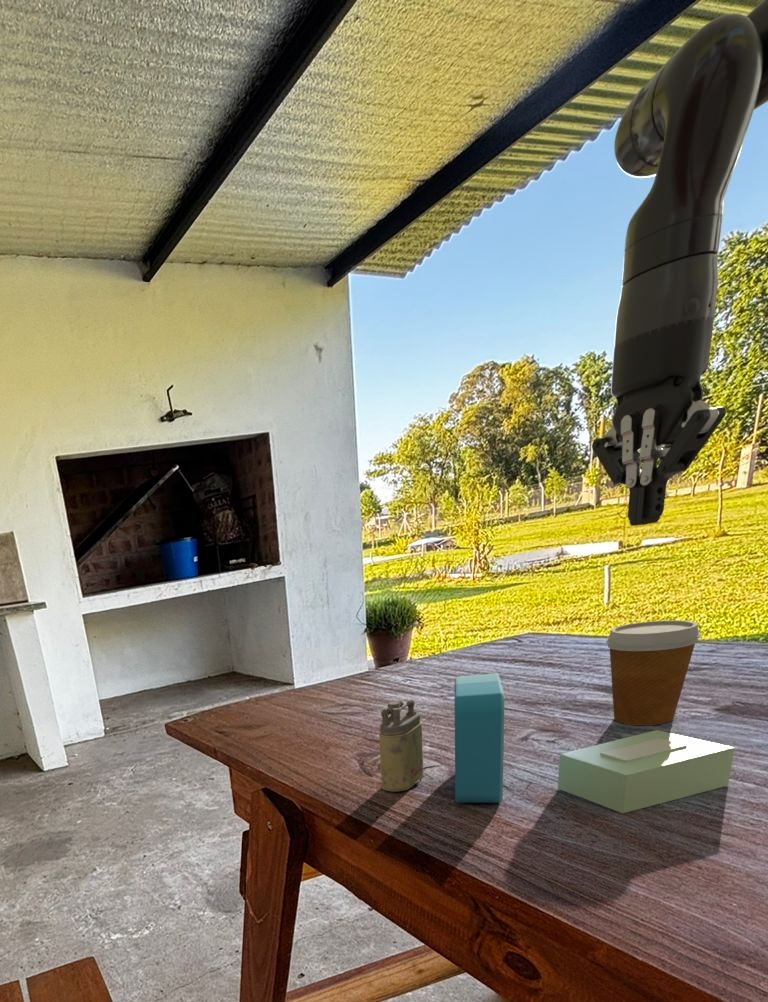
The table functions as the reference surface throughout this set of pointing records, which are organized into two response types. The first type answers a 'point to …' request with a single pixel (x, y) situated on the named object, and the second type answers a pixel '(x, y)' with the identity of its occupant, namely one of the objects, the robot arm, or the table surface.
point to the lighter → (400, 747)
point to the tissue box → (644, 770)
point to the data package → (479, 739)
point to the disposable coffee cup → (649, 669)
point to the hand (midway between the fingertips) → (644, 523)
